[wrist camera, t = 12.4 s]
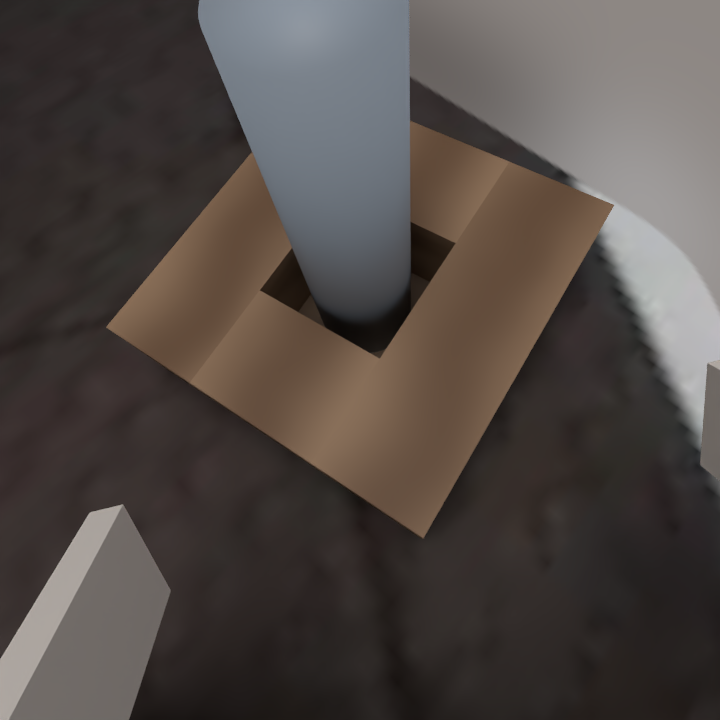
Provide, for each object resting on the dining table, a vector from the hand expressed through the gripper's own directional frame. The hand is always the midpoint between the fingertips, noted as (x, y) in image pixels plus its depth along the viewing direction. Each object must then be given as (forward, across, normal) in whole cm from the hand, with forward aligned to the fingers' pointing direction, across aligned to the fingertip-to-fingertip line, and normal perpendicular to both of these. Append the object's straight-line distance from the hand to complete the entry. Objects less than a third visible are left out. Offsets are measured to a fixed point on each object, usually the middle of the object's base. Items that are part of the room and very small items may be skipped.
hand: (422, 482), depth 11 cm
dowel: (+12, 0, 0) cm, 12 cm away
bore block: (+13, 0, -1) cm, 13 cm away
